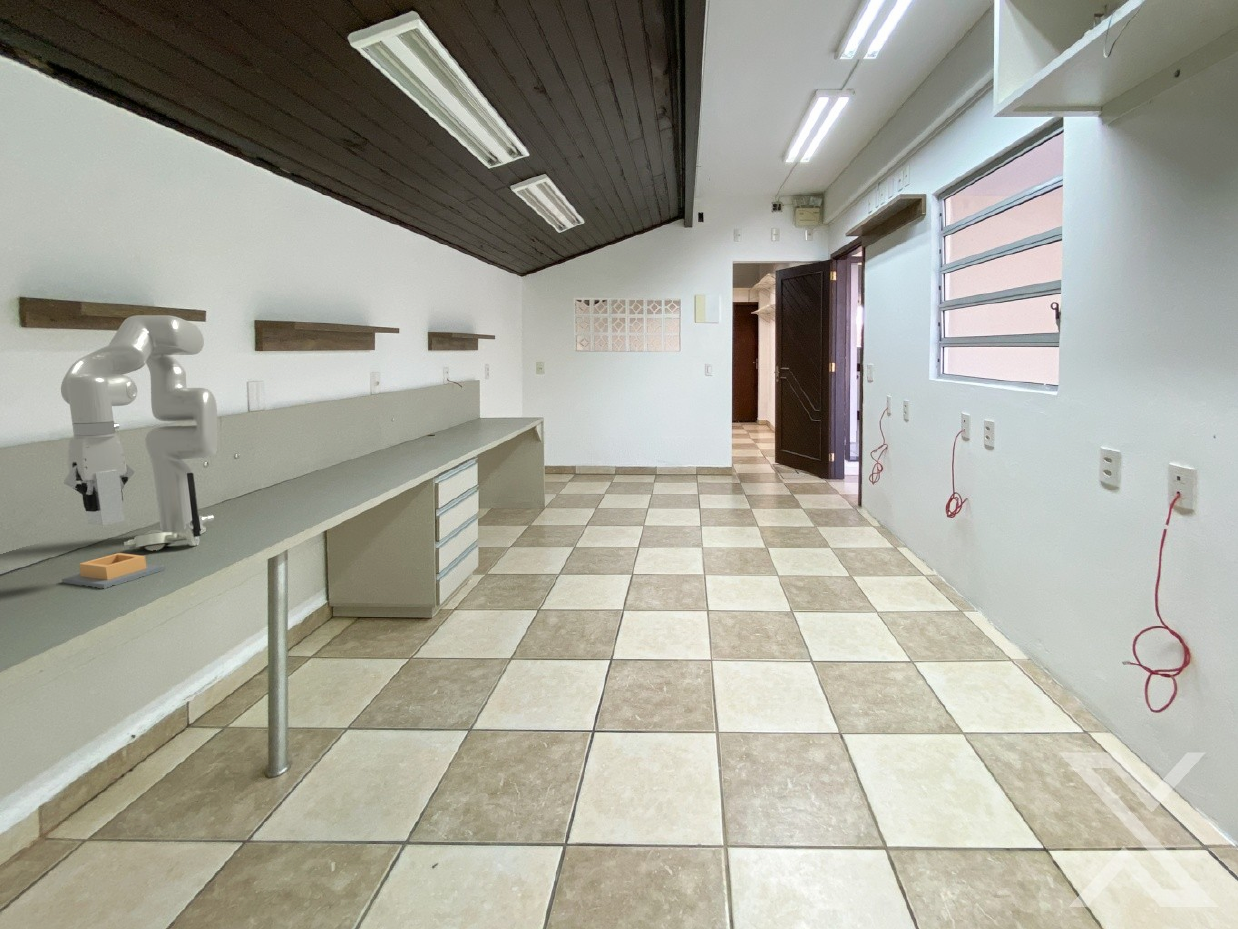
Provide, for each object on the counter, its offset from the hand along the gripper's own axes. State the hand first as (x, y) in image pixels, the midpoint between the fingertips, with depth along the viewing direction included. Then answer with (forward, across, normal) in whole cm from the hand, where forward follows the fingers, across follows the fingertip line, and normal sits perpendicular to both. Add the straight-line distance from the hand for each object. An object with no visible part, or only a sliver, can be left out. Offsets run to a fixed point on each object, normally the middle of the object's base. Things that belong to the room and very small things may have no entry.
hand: (104, 507), depth 157 cm
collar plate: (+17, 0, 0) cm, 17 cm away
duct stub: (+3, 0, 0) cm, 3 cm away
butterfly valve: (+17, -21, -11) cm, 29 cm away
